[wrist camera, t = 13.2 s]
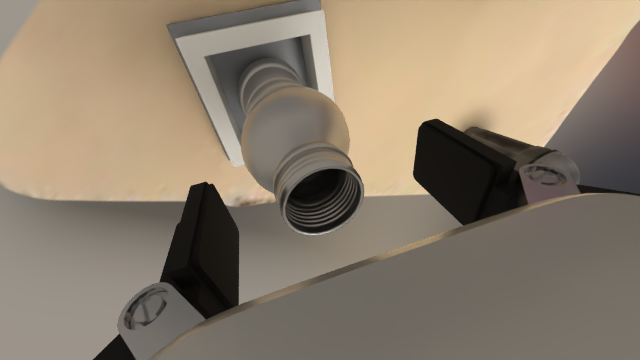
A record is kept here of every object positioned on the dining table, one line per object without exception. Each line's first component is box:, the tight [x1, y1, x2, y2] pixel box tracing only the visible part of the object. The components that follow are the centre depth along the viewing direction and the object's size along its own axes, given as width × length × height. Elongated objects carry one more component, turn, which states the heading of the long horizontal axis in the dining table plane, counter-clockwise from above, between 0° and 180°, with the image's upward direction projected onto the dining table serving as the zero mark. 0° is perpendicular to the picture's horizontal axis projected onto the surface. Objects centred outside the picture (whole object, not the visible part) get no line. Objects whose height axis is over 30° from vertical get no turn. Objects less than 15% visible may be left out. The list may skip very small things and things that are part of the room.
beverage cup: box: [464, 127, 580, 185], centre depth 32 cm, size 7×7×20 cm
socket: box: [167, 0, 335, 168], centre depth 24 cm, size 14×14×5 cm
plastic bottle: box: [237, 58, 364, 236], centre depth 17 cm, size 6×7×20 cm
